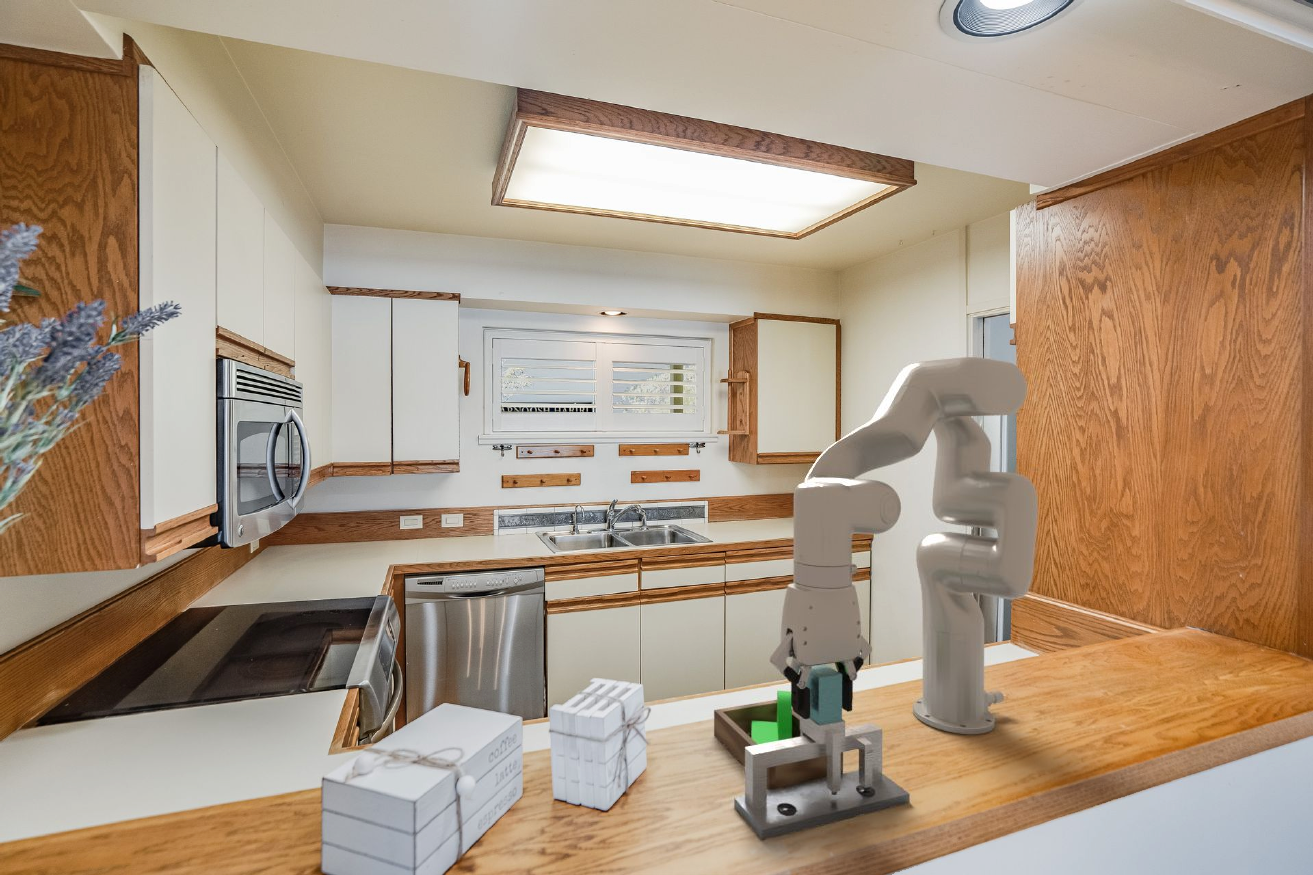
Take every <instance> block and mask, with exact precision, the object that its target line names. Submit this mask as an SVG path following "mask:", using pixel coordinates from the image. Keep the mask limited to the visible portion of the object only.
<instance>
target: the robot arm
mask: <svg viewBox="0 0 1313 875" xmlns="http://www.w3.org/2000/svg"><path fill="white" fill-rule="evenodd" d="M1027 395H1028V383H1027V379H1026V377H1025V375H1024V373H1023V371H1022V370H1021V368H1019V367H1018V366H1017V365H1015V364H1014V363H1012V362H1008V361H1002V360H996V359H991V358H985V357H976V356H975V357H973V356H965V357H964V356H963V357H955V358H945V359H944V358H943V359H935V360H926V361H918V362H914V363H912V364H909V365H907V366H905V367H904V368H903V369H902V370H901V371H900V372H899V374H898V375H897V376H896V379H894V382H893V383H892V384H891V386H890V388H889V390H888V391H887V393H886V395H885V397H884V398H883V400H882V401H881V403H880V405H879V406H878V408H877V410H876V411H875V412H874V414H873V416H872V418H871V419H870V420H869V421H868V422H866V423H865V424H863V425H862V426H859V427H858V428H856V429H855V430H853V431H852V432H850V433H848V434H847V435H845V436H844V437H842V438H841V439H839V440H837V441H836V442H835V443H833V444H832V445H830V446H829V447H828V448H827V449H825V450H824V451H823V452H822V453H821V454H820V455H819V457H818V458H817V459H816V460H815V462H814V463H813V465H812V466H811V468H810V470H809V471H808V472H807V475H806V476H805V478H804V480H803V481H802V483H799V484H798V485H797V486H796V487H795V489H794V491H793V583H789V584H787V587H786V591H785V592H786V593H785V597H784V600H783V606H782V616H781V626H780V627H781V628H780V644H779V645H778V646H777V648H776V649H775V650H774V652H773V653H772V655H770V658H769V662H770V663H771V665H773V666H774V667H775V668H776V669H777V670H778V671H779V672H780V673H781V675H783V676H784V677H785V678H786V679H787V681H789V682H790V683H791V684H790V691H791V705H792V709H793V711H794V712H795V713H797V714H798V715H799V716H801V717H802V718H803V719H809V717H810V689H809V688H808V687H806V684H807V681H808V678H809V675H810V672H811V668H812V667H813V666H820V665H830V664H834V665H835V668H836V669H835V670H836V671H837V672H839V673H841V674H842V710H844V711H846V712H848V713H849V712H852V711H853V700H854V698H853V697H854V696H853V695H854V694H853V692H854V689H853V688H854V682H853V681H856V680H857V679H858V672H859V671H860V669H861V668H862V667H863V665H864V661H866V659H867V658H868V657H869V656H870V654H871V653H872V651H873V648H872V646H871V645H870V643H869V642H868V641H867V639H865V637H863V634H862V626H861V625H862V623H861V622H862V621H861V613H860V605H859V598H858V594H857V593H858V592H857V590H856V586H855V585H854V584H853V575H855V574H857V573H858V570H859V569H858V566H857V564H855V563H853V562H852V561H853V547H852V546H853V540H852V539H853V535H855V534H856V535H857V534H862V535H872V536H873V535H879V534H880V535H881V534H883V533H886V532H887V531H890V530H891V529H892V528H893V527H895V525H896V524H897V522H898V520H899V518H900V516H901V510H902V506H901V504H902V503H901V500H900V497H899V495H898V493H897V491H896V490H895V489H894V488H893V487H892V486H890V485H889V484H888V483H886V482H883V481H879V480H875V479H865V478H864V479H863V478H858V477H859V476H861V475H863V474H866V473H868V472H871V471H873V470H878V469H880V468H881V469H882V468H884V467H888V466H891V465H895V464H898V463H900V462H902V461H906V460H909V459H910V458H913V457H915V456H916V455H918V454H919V453H920V452H921V450H922V449H923V447H924V446H925V444H926V442H927V440H928V439H929V437H930V434H931V432H932V431H933V433H934V436H935V438H936V439H935V440H936V459H935V469H934V478H933V488H932V489H933V490H932V500H931V501H932V511H933V514H934V516H935V517H936V518H937V519H938V520H940V521H941V522H944V523H946V524H949V525H950V524H951V525H955V526H963V527H972V528H981V529H990V530H996V532H997V537H994V536H993V537H992V536H984V535H977V534H971V533H970V534H969V533H960V532H952V531H938V532H932V533H929V534H927V535H925V536H924V537H923V538H922V539H921V540H920V541H919V543H918V545H917V548H916V553H915V555H916V557H915V558H916V560H915V561H916V567H917V572H918V577H919V582H920V589H921V590H920V591H921V602H922V604H921V605H922V697H920V698H917V699H916V700H915V701H914V702H913V704H912V712H913V714H914V717H916V718H917V719H918V720H919V721H921V722H922V723H924V724H926V725H928V726H929V727H933V728H935V729H938V730H941V731H943V732H944V731H945V732H949V733H953V734H961V735H982V734H985V733H988V732H991V731H993V729H994V728H995V727H996V725H995V724H996V720H995V717H994V714H992V713H991V711H989V707H991V706H992V705H995V704H999V703H1003V702H1004V701H1005V696H1004V694H1003V693H1002V691H1000V690H994V691H989V692H987V691H986V690H985V618H984V615H983V611H982V609H981V608H980V605H979V603H978V601H977V600H976V599H975V597H974V595H973V594H976V595H983V596H987V597H992V598H998V599H1005V600H1019V599H1021V598H1024V597H1025V596H1026V595H1027V593H1028V592H1029V590H1030V588H1031V585H1032V581H1033V576H1034V567H1035V565H1034V564H1035V553H1036V542H1037V541H1036V540H1037V528H1038V516H1039V511H1038V510H1039V502H1038V494H1037V491H1036V489H1035V488H1036V487H1035V486H1034V484H1033V482H1032V481H1031V480H1030V478H1028V477H1027V476H1026V475H1023V474H1021V473H1015V472H1006V471H1004V472H1003V471H991V456H992V443H991V441H990V438H989V436H988V435H987V433H986V432H985V431H984V429H983V427H982V426H980V425H979V423H978V422H977V421H976V420H975V419H974V418H973V417H987V416H988V417H989V416H991V417H992V416H1010V415H1013V414H1015V413H1016V412H1018V411H1019V410H1020V409H1021V408H1022V406H1023V404H1024V403H1025V401H1026V399H1027ZM788 658H792V659H791V663H790V665H789V664H788V663H787V659H788Z"/></svg>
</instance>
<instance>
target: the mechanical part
mask: <svg viewBox="0 0 1313 875" xmlns="http://www.w3.org/2000/svg"><path fill="white" fill-rule="evenodd" d="M776 694H777V697H776V700H777V722H765V721H752V731H751V736H750V738H752V739H753V740H754V741H755V742H756V743H757V744H758V745H759V744H765V743H770V742H775V741H780V740H785V739H791V738H792V705H791V690H789V691H788V690H777V693H776Z"/></svg>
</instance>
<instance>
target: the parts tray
mask: <svg viewBox="0 0 1313 875" xmlns="http://www.w3.org/2000/svg"><path fill="white" fill-rule="evenodd" d="M752 721H765V722H777V699H774V700H767V701H760V702H754V703H749V704H742V705H736V706H730V707H723V708H718V709H713V736H715V738H716V739H717V740H718V741H719V742H720V743H721V744H722V745H723V746H724V747H725V748H726V749H727V750H728V751H729V752H730V753H731V755H733V757H735V758H736V760H738V761H739V762H740V763H741V764H742V765H743V767H745V747H749V746H754V745H758V744H757V743H756V742H755V741H754V740H753V739H752V738H751V736H750V735H748V734H747V733H750V732H751V733H752ZM796 737H801V730H800V716H799V715H798V714H797V713H795V712H794V711H793V709H792V738H796ZM841 774H844V752H841ZM826 777H827V755H826V756H821V757H817V758H812V759H807V760H802V761H797V762H793V763H788V764H783V765H778V766H773V767H768V768H767V790H772V789H776V788H781V787H785V786H790V785H794V784H799V783H803V782H808V781H812V780H817V779H821V778H826Z"/></svg>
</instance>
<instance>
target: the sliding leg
mask: <svg viewBox="0 0 1313 875" xmlns="http://www.w3.org/2000/svg"><path fill="white" fill-rule="evenodd" d="M806 687H808V688H809V689H810V717H809V719H803V718H802V717H801V716H800V730H801V736H806V735H808V736H809V737H810V738H811V739H813V740H814V741H815V742H817V743H818V744H819V745H820V744H825V743H827V788H828V789H829V790H831V794H832V795H837V791H841V740H845V728H846V720H844V719H843V708H842V674H841V673H839V672H838V671H837V669H834V668H832V667H830V666H828V664H823V665H816V666H812V668H811V672H810V675H809V678H808V681H807V684H806Z"/></svg>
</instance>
